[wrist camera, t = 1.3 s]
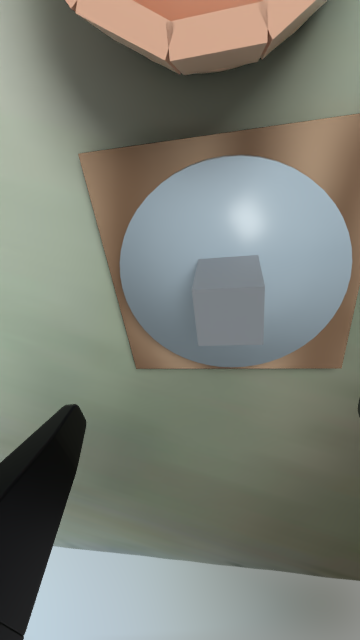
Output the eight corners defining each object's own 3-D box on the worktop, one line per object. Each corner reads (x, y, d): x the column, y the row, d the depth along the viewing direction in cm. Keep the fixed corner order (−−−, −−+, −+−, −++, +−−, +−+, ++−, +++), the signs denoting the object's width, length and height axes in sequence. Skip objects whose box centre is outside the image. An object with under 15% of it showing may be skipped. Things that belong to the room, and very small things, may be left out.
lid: (369, 136, 15) (425, 143, 10) (328, 357, 22) (351, 412, 18) (99, 171, 17) (58, 188, 13) (145, 359, 25) (129, 407, 20)
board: (393, 108, 14) (397, 108, 14) (339, 363, 23) (341, 368, 22) (82, 153, 17) (78, 153, 17) (137, 364, 26) (136, 368, 25)
